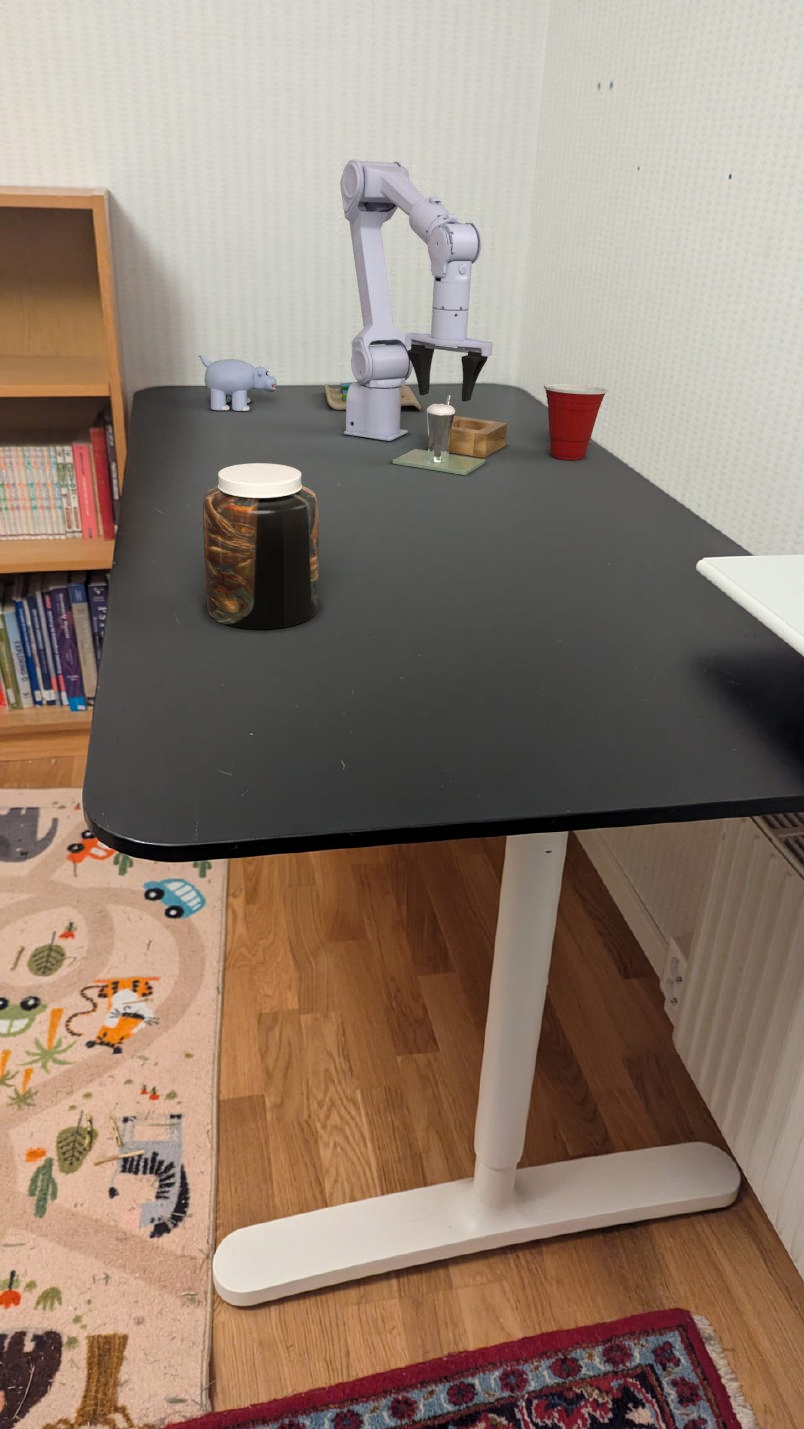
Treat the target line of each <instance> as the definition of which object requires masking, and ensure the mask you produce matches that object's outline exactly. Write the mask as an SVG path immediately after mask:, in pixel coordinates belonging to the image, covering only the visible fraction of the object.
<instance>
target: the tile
mask: <svg viewBox="0 0 804 1429" xmlns="http://www.w3.org/2000/svg"><path fill="white" fill-rule="evenodd" d="M392 464H394V465H398V466H405V467H412V468H418V469H424V470H431V471H437V472H443V473H448V474H456V475H462V476H467V475H468V474H470V473H472V472H473V471H475V470H477V469H478V468H480V467H482V466H484V465H485V464H486V459H484V458H483V459H482V458H478V457H470V456H465V455H458V454H451V453H449V457H448V461H446V462H441V463H439V462H432V461H429V459H428V450H425V449H420V448H419V449H417V448H413V449H412V450H410V451H407V452H405V453H404V454H402V455H400V456H397V457H396V458H394V459H392Z"/></svg>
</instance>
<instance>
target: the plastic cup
mask: <svg viewBox="0 0 804 1429" xmlns="http://www.w3.org/2000/svg"><path fill="white" fill-rule="evenodd" d="M543 389H544V391H545V394H546V403H547V414H548V436H549V444H550V448H549V449H550V455H551V456H552V457H553V458H555V459H559V460H565V461H580V460H583V459H585V455H586V454H587V450H588V447H589V443H590V441H591V438H592V435H593V431H594V427H595V424H596V421H597V418H598V414H599V410H600V408H601V406H602V402H603V401H604V398H605V395H606V394H607V393H608V391H609V389H608V388H605V387H600V386H594V385H585V384H574V383H573V384H572V383H571V384H570V383H549V384H544V385H543Z"/></svg>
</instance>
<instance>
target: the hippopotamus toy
mask: <svg viewBox="0 0 804 1429" xmlns="http://www.w3.org/2000/svg"><path fill="white" fill-rule="evenodd" d="M198 358H200V361H201V363H202V365H203V366H204V367H205V368H206V369H205V372H204V384H205V386H206V389H208V390H209V391H210V409H211V410H213V411H226V412H227V411H229V410H230V409H232V410H233V411H235V412H249V411H250V409H251V408H250V406H249V405H248V404H249V403H251V401H252V400H251V398H249V394H250V392H252V391H253V390H254V389H256V390H264V391H266V392H269V393H274V392H276V391H277V387H276V385H278V381H277V379H276V375H269V370H268V369H267V368H266V367H265V366H264V367H263V366H261V365H258V367H254V365H253V364H252V363H249V362H246V361H245V360H241V359H238V358H237V359H235V358H224V359H219V360H215V361H212V362H211V361H208V360H207V359H206V358H205V357H204V356H203V355H201V354H199V355H198ZM248 393H249V394H248ZM228 403H231V408H230V406H229V405H228Z"/></svg>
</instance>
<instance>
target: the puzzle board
mask: <svg viewBox="0 0 804 1429" xmlns="http://www.w3.org/2000/svg"><path fill="white" fill-rule="evenodd" d="M353 382H354V381H352V382H340V385H339V386H340V388H332V387H330V386H329V385H328V384H327V383H325V384H324V386H323V387H324V388H323V389H324V392H325V398H326V402H327V404H328V406H329V407H331V408H332V409H333V410H335V411H346V398H347V392H348V389H349V387H350V385H351V384H352V383H353ZM401 386H402V389H401V407H407V406H408V407H409V406H412V407H415V408H416V409H417V411H421V410H422V406H421V404H420V402H419V401H418V398H417V397H416V395H415V394H414V392H413V391H412V389H411V388H410V387H409V386H408V385H406V384H405V385H401Z"/></svg>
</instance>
